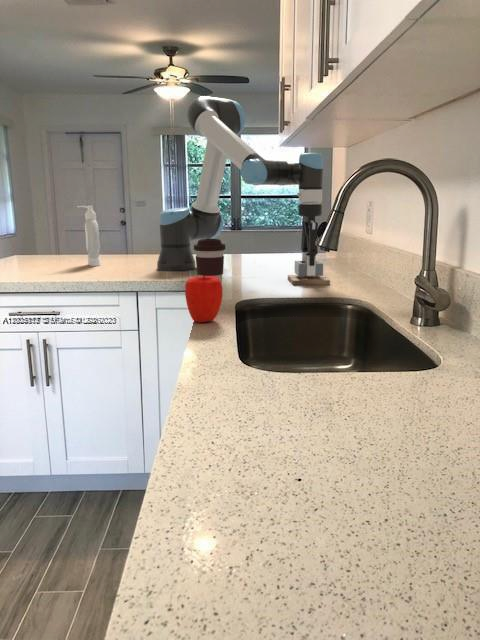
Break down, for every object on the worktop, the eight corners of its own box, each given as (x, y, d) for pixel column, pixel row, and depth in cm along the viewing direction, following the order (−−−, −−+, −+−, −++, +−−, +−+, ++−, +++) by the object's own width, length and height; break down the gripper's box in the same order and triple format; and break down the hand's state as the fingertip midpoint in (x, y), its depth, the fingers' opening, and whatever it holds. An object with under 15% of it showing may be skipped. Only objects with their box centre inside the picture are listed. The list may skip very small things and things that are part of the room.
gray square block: (294, 272, 172) (294, 260, 171) (317, 272, 172) (318, 260, 171) (298, 276, 164) (298, 264, 163) (322, 275, 164) (323, 263, 164)
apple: (214, 327, 113) (213, 279, 110) (179, 324, 116) (177, 277, 113) (228, 318, 121) (228, 273, 118) (195, 315, 124) (194, 271, 121)
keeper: (287, 279, 174) (287, 254, 172) (321, 278, 175) (322, 254, 173) (293, 285, 163) (293, 259, 161) (329, 284, 163) (330, 258, 161)
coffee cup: (221, 290, 155) (221, 241, 152) (191, 289, 157) (189, 240, 154) (229, 284, 165) (228, 238, 161) (199, 283, 167) (198, 238, 163)
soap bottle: (80, 263, 217) (75, 205, 211) (99, 262, 220) (94, 205, 214) (83, 267, 206) (78, 206, 200) (102, 266, 208) (98, 205, 202)
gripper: (293, 203, 172) (292, 269, 178) (304, 204, 152) (302, 278, 158) (314, 202, 173) (313, 268, 178) (329, 204, 153) (326, 278, 158)
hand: (308, 273), depth 168 cm, fingers closed on gray square block, 8 cm apart
